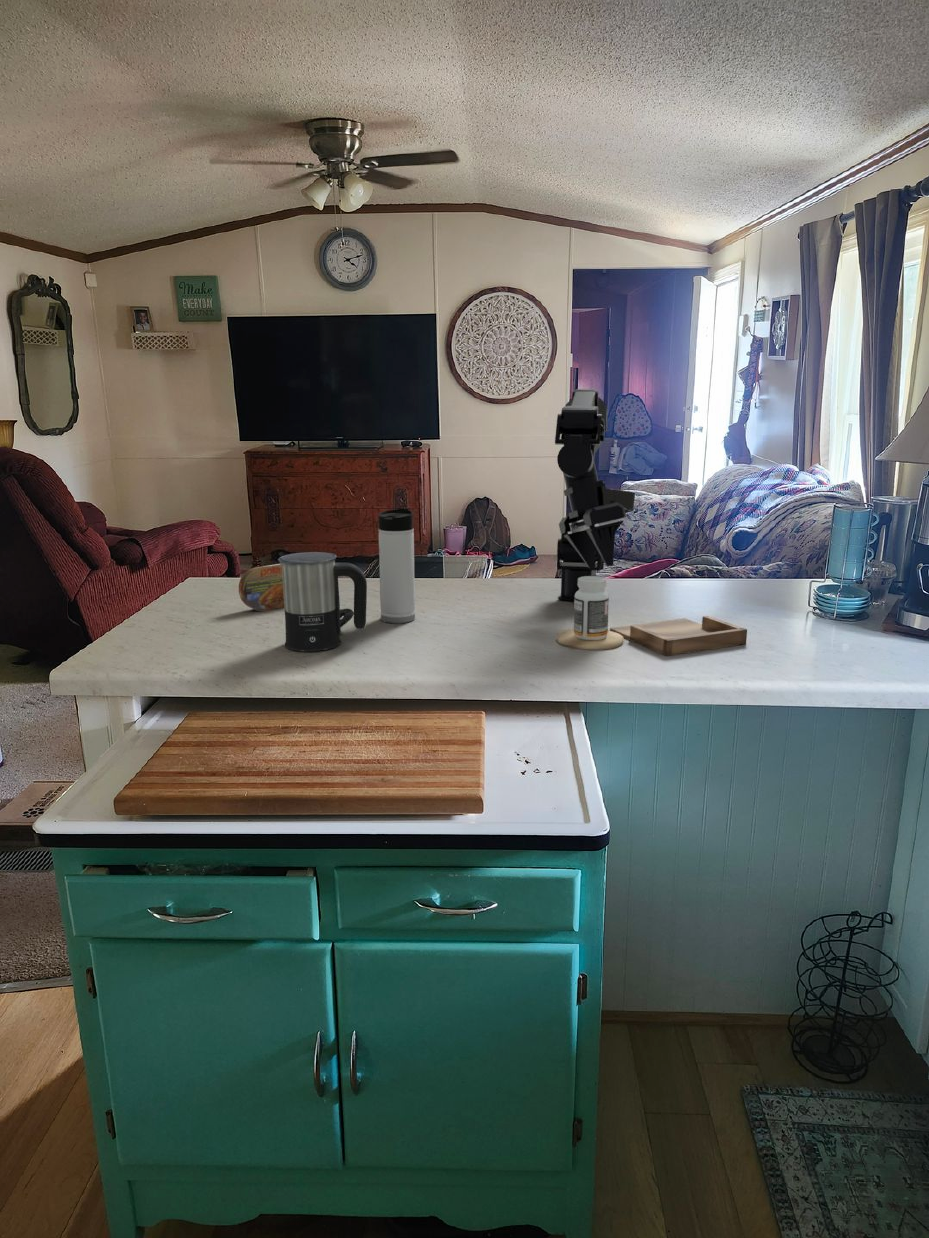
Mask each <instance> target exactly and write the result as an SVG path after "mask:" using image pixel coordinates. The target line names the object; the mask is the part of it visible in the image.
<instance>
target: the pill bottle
mask: <svg viewBox="0 0 929 1238" xmlns="http://www.w3.org/2000/svg"><path fill="white" fill-rule="evenodd" d="M606 586H607V579H606V577H603V576H598V575H596V576H584V577H580V578H578V587H579V590H578V591H577V592H576V593H575V596H574V601H573V602H574V606H573V607H574V608H573V609H574V611H573V629H574V635H575V637H577V638H579V639H582V640H601V639H604V638H606V637H607V635H608V631H609V602H610V596H609V594H608V592H607V591H606V590H605V589H606Z"/></svg>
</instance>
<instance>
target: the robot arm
mask: <svg viewBox="0 0 929 1238" xmlns="http://www.w3.org/2000/svg"><path fill="white" fill-rule="evenodd" d="M560 411H561V413H557V415H556V417H557V418H556V427H555V428H556V429H555V436H554V445H556V446H557V445H559V446H562V445H563V446H562V447H561V448H560V450H559V451H558V454H557V459H556V461H557V465H558V468H559V469H560V471H561V472H562V474H563V479H564V483H565V487H566V489H564V490H563V494H564V497H566V496H567V497H568V500H569V505H570V506H569V507H570V512H569V513H568V516H565V517H562V518H561V520H560V521H559V522H558V527H559V532H560V534H561V535H560V538H558V539H557V545H556V547H557V550H556V557H557V558H556V566H557V568H556V569H557V570H561V575H560V577H561V578H560V580H561V581H560V594H559V595H558V596H557V600H560V601H570V602H574V596H575V593H576V592H577V591H578V590H579V587H578V578H580V577H584V576H597V572H599V571H600V570H604V567H605V566H606V567H610V566H613V565H614V559H615V558H614V556H615V540H616V533H617V531H618V529H619V528H620V527H621V525H622V524H623V523H624V520H621V519H624V518H625V519H626V518H627V514H626V513H628V512H633V511H634V508H635V499H636V492H633V491H629V490H628V491H627V490H623V489H622V490H621V489H615V488H607V486H606V482H605V481H603V480H599V477H598V472H597V466H596V464H595V455H596V453H597V451H598V450H599V448H600V447H601V446H602V444H603V442H604V440H605V433H607V429H608V404H607V403H606V402H604V400H603V399H602V398H601V397H599V390H596V389H595V388H593V389H592V388H580V389H579V388H577V389H575V390H572V394H571V398H570V400H569V401H567V402H566V403H565V406H563V407H562V408H561V410H560ZM604 565H605V566H604Z"/></svg>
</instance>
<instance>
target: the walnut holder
mask: <svg viewBox="0 0 929 1238" xmlns="http://www.w3.org/2000/svg"><path fill="white" fill-rule="evenodd" d="M701 619H702V620H701V623H698V622H696V621H693V620H690V619H687V618H685V617H684V618H677V619H668V620H661V621H655V622H654V621H653V622H645V623H639V624H638V623H637V624H630V625H623V626H615V627H610V628H609V631H612V632H615V633H618V634H620V635H622V636H623V638H625V639H626V638H627V640H629V641H632V642H633V643H636V644H638V645H640V646H642V647H645V648H648V649H649V650H651V651H654V652H657V653H659V654H661V655H664V656H666V657H669V656H676V655H682V654H689V653H688V652H690V653H695V651H697V652H701V651H700V650H703V651H710V650H715V649H722V648H723V649H724V648H728V647H729V646H730V647H734V646H735V645H737V646H740V645H739V644H743V645H747V637H748V629H747V628H744V627H741V626H738V625H736V624H733V623H730V622H727V621H725V620H724V621H723V620H721V619H718V618H715V617H713V616H709V615H703V616H702V618H701ZM735 647H736V646H735Z"/></svg>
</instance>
